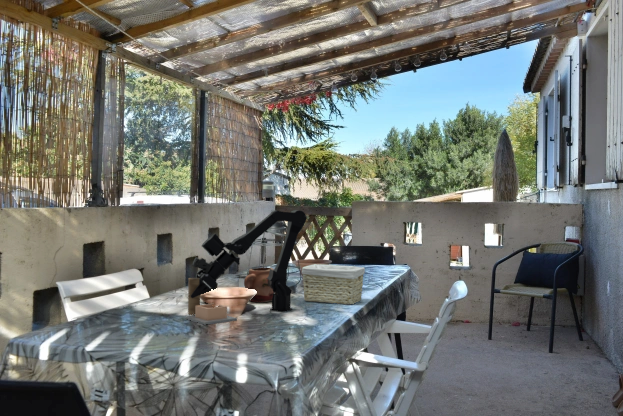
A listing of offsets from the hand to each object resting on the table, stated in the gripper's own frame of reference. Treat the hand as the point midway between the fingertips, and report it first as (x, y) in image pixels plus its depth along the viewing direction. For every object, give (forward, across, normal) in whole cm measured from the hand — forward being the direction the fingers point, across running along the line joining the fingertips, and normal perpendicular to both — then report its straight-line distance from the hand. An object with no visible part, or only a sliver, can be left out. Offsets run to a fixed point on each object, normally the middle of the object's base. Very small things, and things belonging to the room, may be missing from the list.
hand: (190, 295), depth 223 cm
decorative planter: (-16, -22, +26) cm, 38 cm away
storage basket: (-38, -17, +48) cm, 64 cm away
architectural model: (-17, -57, +28) cm, 65 cm away
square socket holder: (0, +13, +9) cm, 16 cm away
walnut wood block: (+4, 0, +6) cm, 7 cm away
